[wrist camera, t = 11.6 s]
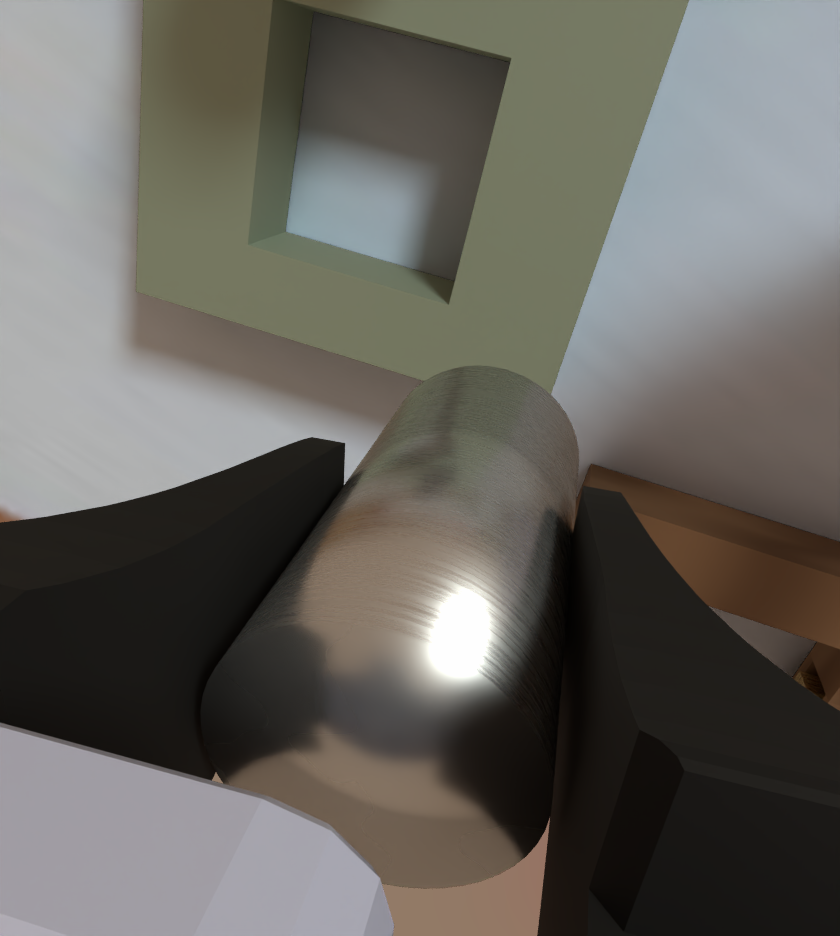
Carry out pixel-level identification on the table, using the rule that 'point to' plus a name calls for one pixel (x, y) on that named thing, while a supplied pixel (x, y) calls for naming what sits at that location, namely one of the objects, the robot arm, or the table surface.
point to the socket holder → (745, 565)
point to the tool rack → (366, 278)
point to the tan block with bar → (810, 683)
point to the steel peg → (419, 640)
